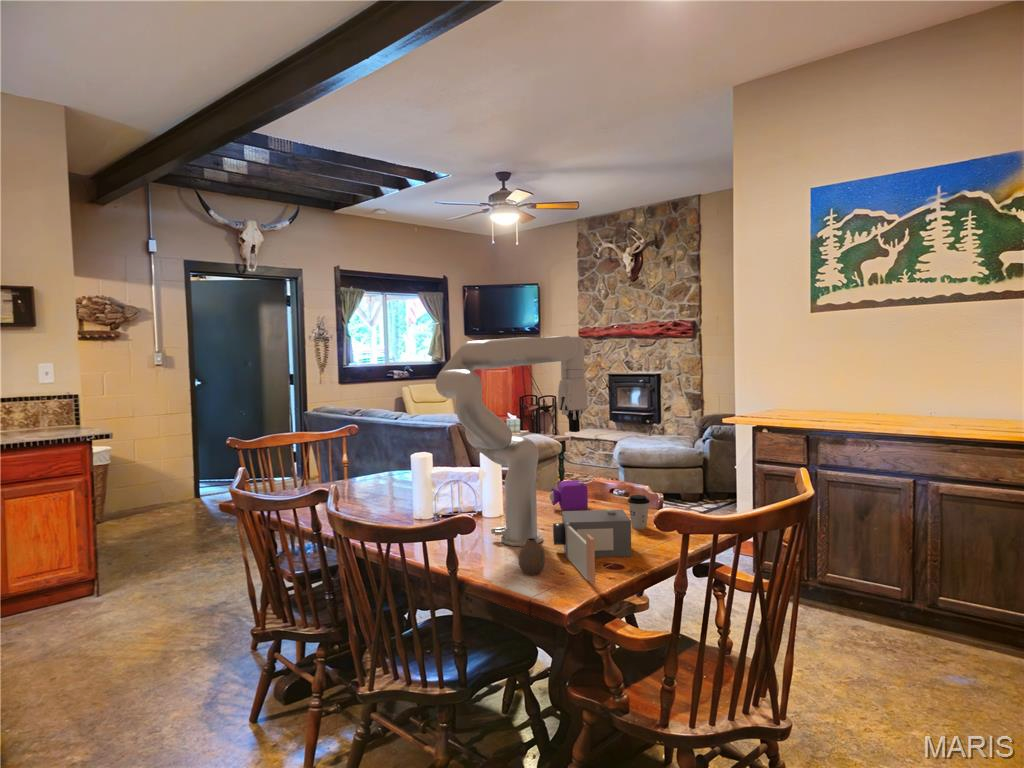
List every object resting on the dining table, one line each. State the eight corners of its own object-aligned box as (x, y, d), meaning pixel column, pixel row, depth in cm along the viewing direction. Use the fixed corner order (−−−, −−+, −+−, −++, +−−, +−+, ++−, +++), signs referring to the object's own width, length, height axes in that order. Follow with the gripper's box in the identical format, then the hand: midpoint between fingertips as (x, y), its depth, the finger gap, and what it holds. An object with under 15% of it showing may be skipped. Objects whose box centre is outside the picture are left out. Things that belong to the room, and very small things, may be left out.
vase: (517, 568, 162) (516, 535, 161) (543, 567, 162) (542, 534, 162) (519, 578, 155) (518, 544, 154) (546, 576, 155) (545, 542, 155)
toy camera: (546, 507, 224) (545, 480, 224) (580, 503, 229) (579, 477, 228) (556, 514, 214) (556, 486, 214) (592, 510, 218) (591, 482, 218)
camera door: (566, 558, 168) (565, 515, 167) (570, 558, 168) (569, 515, 168) (591, 588, 146) (590, 539, 146) (596, 588, 147) (595, 539, 146)
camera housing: (555, 558, 168) (554, 519, 168) (552, 544, 180) (551, 508, 180) (631, 556, 168) (631, 517, 168) (623, 542, 180) (622, 506, 180)
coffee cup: (649, 524, 198) (649, 494, 198) (650, 530, 191) (650, 499, 191) (628, 524, 200) (627, 494, 199) (628, 530, 193) (627, 499, 192)
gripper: (578, 373, 204) (580, 428, 205) (548, 376, 193) (550, 433, 195) (596, 374, 198) (597, 429, 200) (566, 376, 188) (568, 435, 189)
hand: (574, 431), depth 197 cm, fingers closed
